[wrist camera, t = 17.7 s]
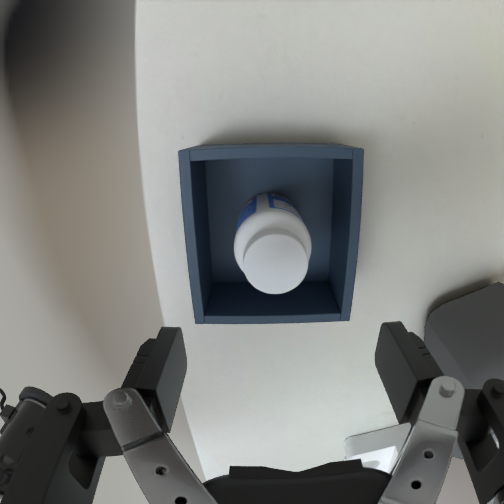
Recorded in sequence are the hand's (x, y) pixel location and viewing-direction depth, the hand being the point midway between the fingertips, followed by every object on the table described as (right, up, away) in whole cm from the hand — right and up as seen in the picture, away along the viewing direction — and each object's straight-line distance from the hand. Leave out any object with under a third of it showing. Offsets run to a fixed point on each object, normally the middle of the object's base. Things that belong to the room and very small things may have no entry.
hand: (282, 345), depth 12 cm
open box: (0, +7, +17) cm, 18 cm away
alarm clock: (+25, -8, +22) cm, 34 cm away
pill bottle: (0, +6, +16) cm, 18 cm away
